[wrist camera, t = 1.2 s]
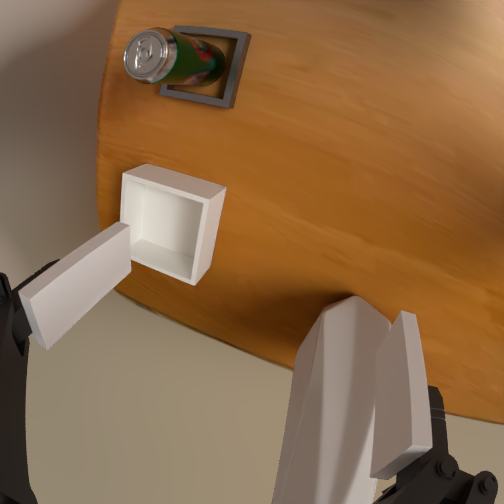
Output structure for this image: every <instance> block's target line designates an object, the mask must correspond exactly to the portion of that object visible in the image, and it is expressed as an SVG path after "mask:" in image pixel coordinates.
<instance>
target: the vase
mask: <svg viewBox="0 0 504 504" xmlns="http://www.w3.org/2000/svg"><path fill="white" fill-rule="evenodd" d="M390 329H391V322H390V321H389V320H388V319H387V318H386V317H385V316H383V315H382V314H381V313H380V312H379V311H377V310H376V309H375V308H374V307H373V306H371V305H370V304H369V303H368V302H367V301H365V300H364V299H363V298H362V297H360V296H351V297H349V298H346V299H343V300H341V301H338V302H335V303H333V304H330V305H327V306H325V307H324V308H323V310H322V312H321V313H320V315H319V317H318V318H317V320H316V321H315V323H314V325H313V326H312V328H311V329H310V331H309V333H308V334H307V336H306V337H305V339H304V340H303V342H302V344H301V345H300V347H299V348H298V351H297V353H296V358H295V364H294V371H293V378H292V386H291V392H290V399H289V406H288V412H287V419H286V425H285V432H284V438H283V444H282V450H281V455H280V461H279V467H278V472H277V478H276V483H275V488H274V493H273V498H272V503H271V504H373V499H374V495H375V490H376V486H377V482H378V479H376V478H370V470H371V460H372V449H373V437H374V421H375V398H376V352H377V350H378V349H379V347H380V346H381V344H382V342H383V341H384V339H385V337H386V336H387V334H388V332H389V330H390Z"/></svg>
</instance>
